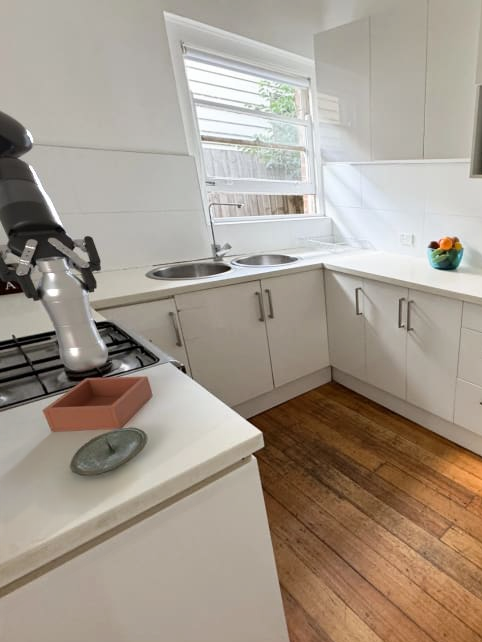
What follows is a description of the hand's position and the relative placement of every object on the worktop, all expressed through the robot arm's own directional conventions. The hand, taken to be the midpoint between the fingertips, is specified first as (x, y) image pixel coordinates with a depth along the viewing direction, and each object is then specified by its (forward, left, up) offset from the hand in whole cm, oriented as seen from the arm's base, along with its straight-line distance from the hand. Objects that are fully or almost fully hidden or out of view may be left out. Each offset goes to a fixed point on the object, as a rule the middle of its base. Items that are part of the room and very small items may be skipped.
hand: (65, 293), depth 64 cm
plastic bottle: (-1, +1, -15) cm, 15 cm away
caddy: (-1, +1, -24) cm, 24 cm away
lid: (+8, -13, -24) cm, 29 cm away
